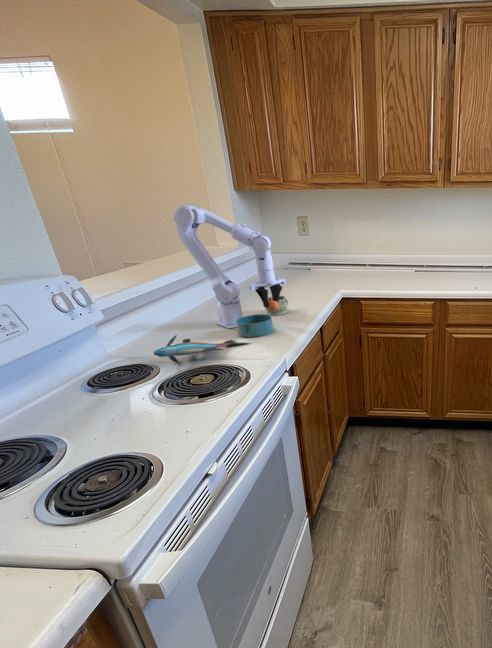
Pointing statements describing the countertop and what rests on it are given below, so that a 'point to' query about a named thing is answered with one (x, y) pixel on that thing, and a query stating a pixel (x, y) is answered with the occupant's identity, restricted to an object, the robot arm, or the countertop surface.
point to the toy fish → (272, 304)
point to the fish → (188, 348)
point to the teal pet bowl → (254, 325)
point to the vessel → (282, 305)
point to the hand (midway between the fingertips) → (271, 305)
